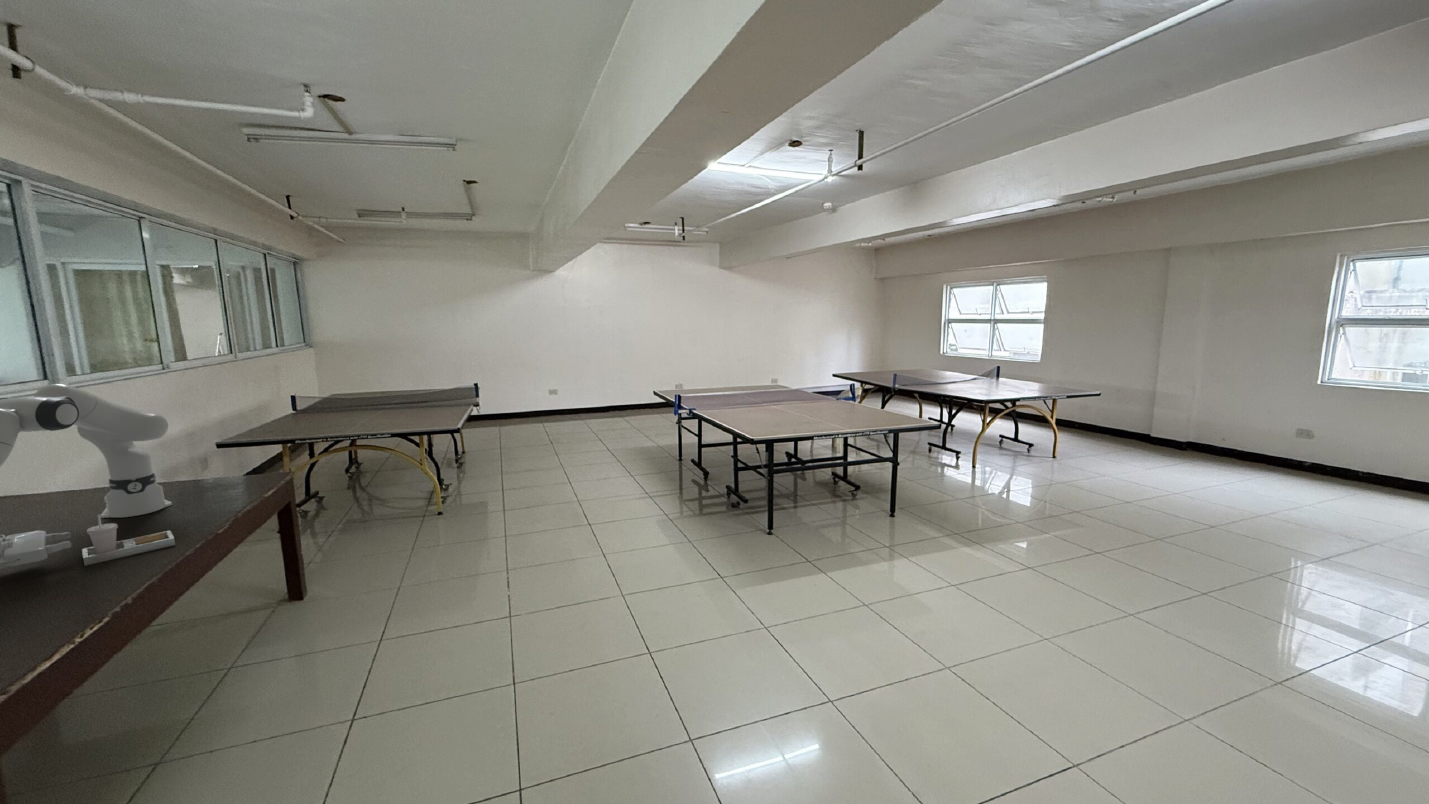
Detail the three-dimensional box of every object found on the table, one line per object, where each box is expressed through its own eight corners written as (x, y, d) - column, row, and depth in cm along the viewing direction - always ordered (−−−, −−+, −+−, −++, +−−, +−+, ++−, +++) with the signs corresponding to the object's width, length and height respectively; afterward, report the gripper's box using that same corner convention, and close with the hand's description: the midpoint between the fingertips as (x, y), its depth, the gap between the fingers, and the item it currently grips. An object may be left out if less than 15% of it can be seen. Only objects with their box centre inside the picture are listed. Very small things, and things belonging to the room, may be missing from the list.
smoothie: (85, 561, 163) (77, 518, 161) (103, 552, 169) (95, 511, 167) (111, 559, 165) (104, 517, 163) (127, 550, 171) (121, 509, 169)
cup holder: (83, 556, 166) (81, 548, 166) (171, 537, 182) (170, 530, 181) (84, 565, 160) (83, 558, 160) (175, 545, 176) (174, 538, 175)
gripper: (-10, 555, 143) (69, 539, 154) (-6, 534, 156) (68, 520, 167) (-6, 576, 144) (73, 559, 155) (-1, 554, 157) (71, 539, 168)
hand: (70, 539), depth 161 cm, fingers open, 8 cm apart
